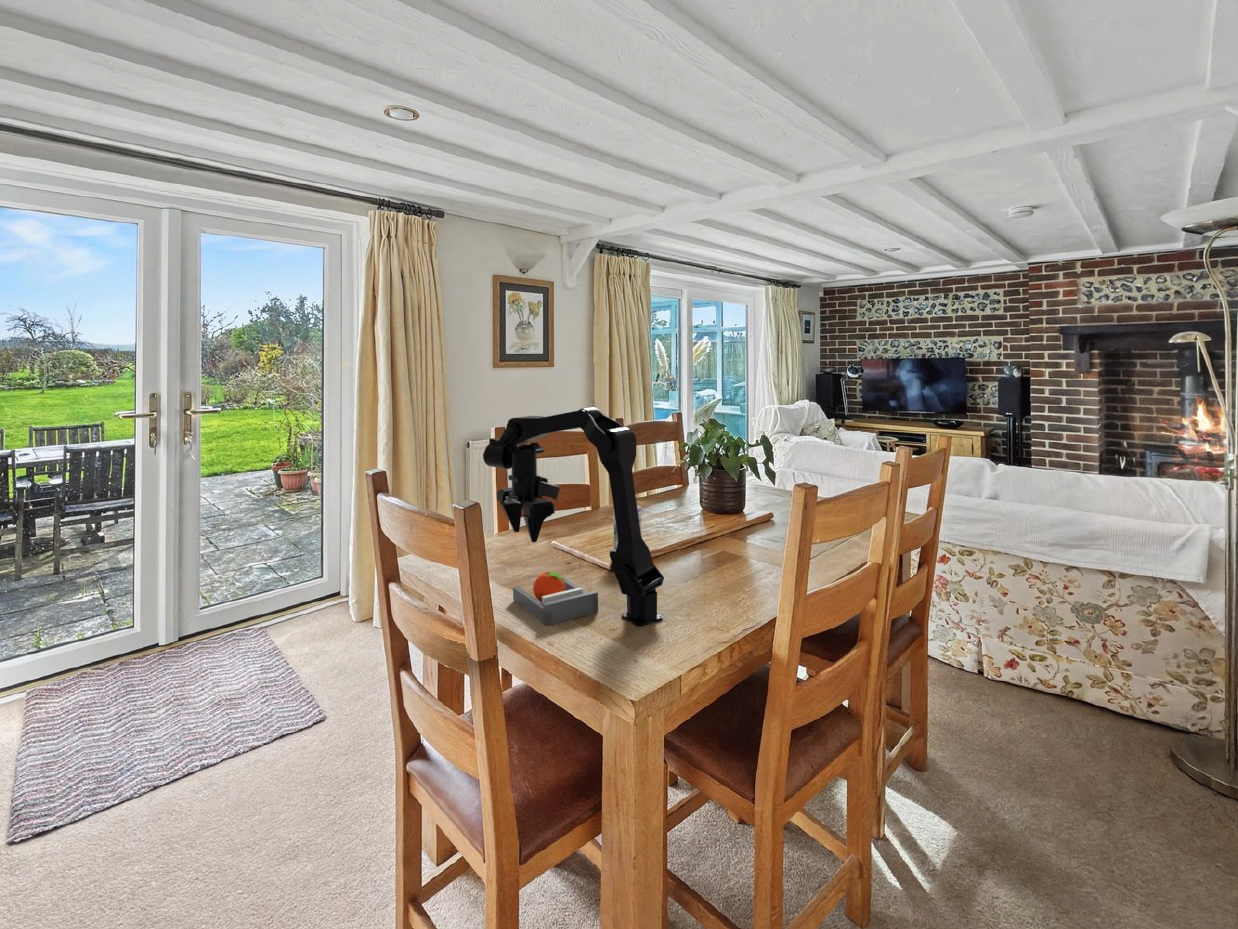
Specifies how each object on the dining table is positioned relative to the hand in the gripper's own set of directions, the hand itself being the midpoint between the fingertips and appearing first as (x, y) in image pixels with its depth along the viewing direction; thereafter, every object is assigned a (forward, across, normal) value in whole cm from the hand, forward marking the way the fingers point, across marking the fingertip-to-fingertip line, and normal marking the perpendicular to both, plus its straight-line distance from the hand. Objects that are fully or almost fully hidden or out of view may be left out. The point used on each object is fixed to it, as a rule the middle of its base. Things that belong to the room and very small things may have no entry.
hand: (525, 536), depth 146 cm
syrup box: (+13, +4, -32) cm, 35 cm away
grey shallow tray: (+12, -14, 0) cm, 18 cm away
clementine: (+12, -12, 0) cm, 17 cm away
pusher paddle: (+12, -17, 0) cm, 21 cm away
